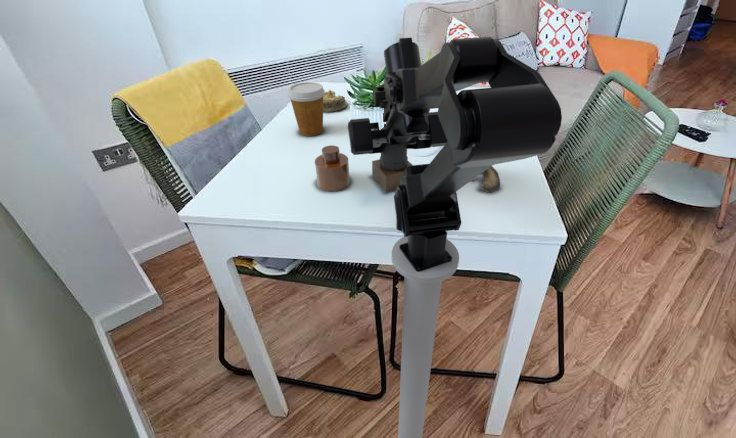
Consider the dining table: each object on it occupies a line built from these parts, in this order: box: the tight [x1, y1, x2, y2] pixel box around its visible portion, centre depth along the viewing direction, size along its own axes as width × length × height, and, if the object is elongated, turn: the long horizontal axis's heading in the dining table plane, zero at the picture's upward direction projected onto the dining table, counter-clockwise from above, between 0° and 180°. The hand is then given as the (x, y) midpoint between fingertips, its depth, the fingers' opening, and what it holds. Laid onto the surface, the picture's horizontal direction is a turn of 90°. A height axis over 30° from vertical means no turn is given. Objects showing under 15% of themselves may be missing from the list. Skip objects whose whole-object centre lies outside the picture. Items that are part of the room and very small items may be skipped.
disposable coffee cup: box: [287, 81, 326, 137], centre depth 100 cm, size 10×10×12 cm
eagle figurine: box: [473, 165, 501, 194], centre depth 79 cm, size 8×7×9 cm
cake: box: [323, 89, 348, 113], centre depth 116 cm, size 10×10×5 cm
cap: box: [379, 127, 409, 171], centre depth 77 cm, size 5×5×8 cm
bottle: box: [314, 144, 351, 192], centre depth 79 cm, size 7×7×8 cm
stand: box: [371, 158, 413, 193], centre depth 80 cm, size 7×7×4 cm
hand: (392, 147), depth 78 cm, fingers closed on cap, 5 cm apart
